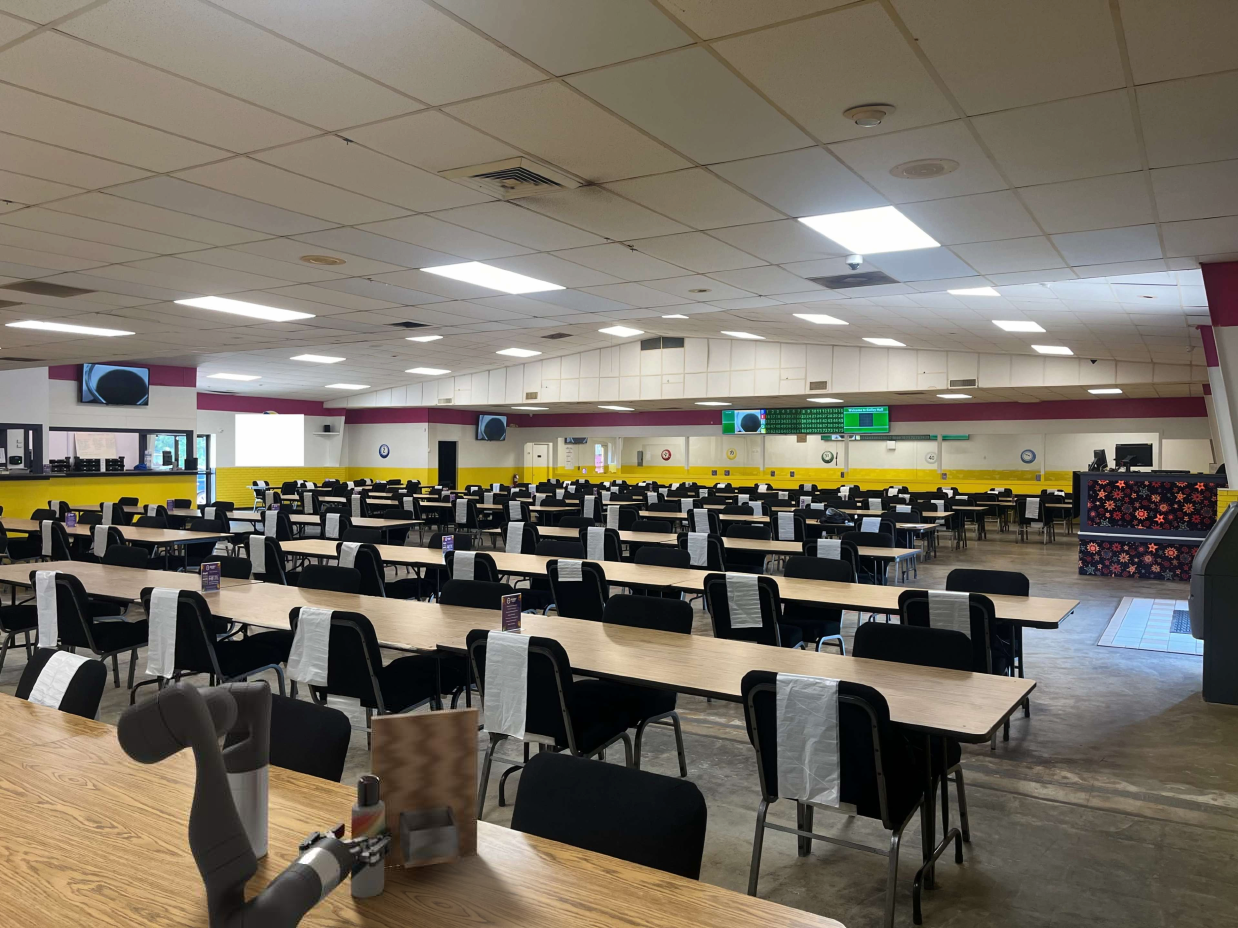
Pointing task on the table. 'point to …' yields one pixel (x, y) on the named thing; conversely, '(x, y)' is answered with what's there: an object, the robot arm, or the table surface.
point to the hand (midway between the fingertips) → (365, 830)
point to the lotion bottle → (368, 823)
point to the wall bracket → (428, 784)
